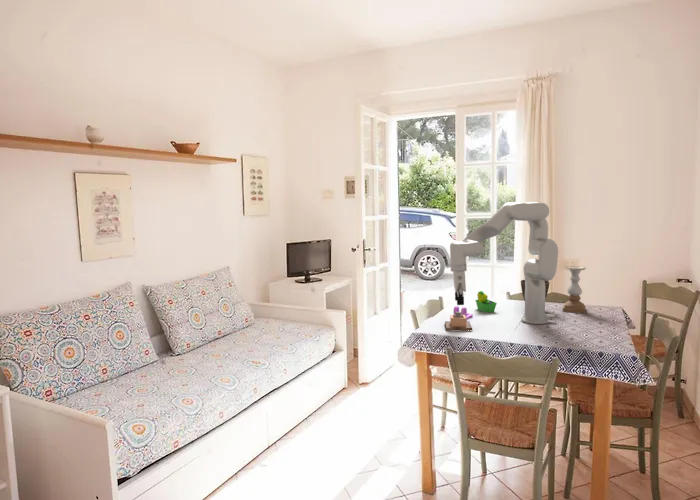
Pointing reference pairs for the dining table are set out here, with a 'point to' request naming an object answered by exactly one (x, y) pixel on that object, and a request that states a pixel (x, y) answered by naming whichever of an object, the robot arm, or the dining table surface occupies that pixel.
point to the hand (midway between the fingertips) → (459, 302)
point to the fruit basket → (485, 303)
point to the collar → (458, 320)
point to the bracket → (463, 312)
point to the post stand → (449, 327)
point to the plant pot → (524, 288)
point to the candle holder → (574, 292)
